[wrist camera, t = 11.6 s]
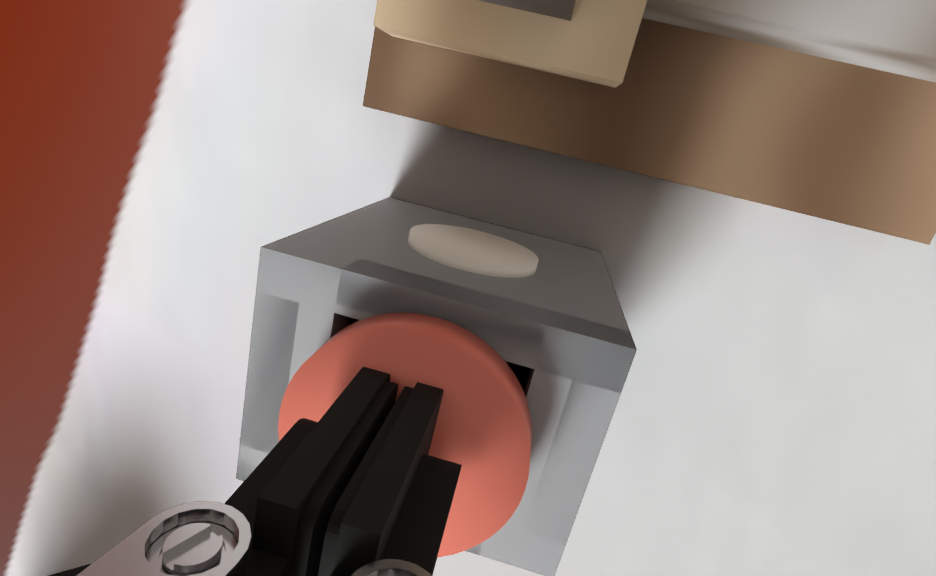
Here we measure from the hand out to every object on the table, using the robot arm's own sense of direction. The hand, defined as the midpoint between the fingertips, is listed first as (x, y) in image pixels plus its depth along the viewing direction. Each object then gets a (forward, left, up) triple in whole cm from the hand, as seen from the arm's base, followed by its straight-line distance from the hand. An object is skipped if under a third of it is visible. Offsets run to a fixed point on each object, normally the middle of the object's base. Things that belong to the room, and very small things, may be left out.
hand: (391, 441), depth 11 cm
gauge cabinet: (0, 0, -10) cm, 10 cm away
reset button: (0, 0, -6) cm, 6 cm away
